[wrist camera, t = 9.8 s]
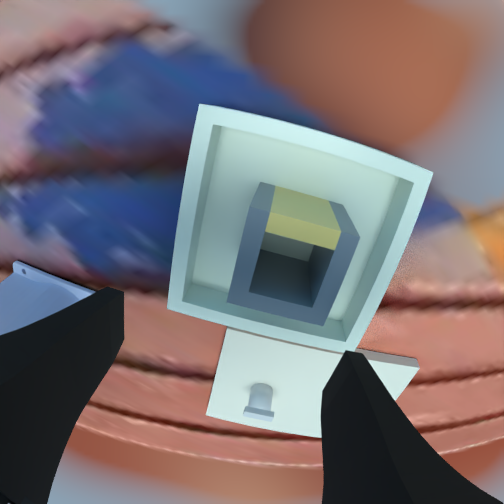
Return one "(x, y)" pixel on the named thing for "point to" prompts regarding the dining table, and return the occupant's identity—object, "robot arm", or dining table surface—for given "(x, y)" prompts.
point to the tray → (232, 225)
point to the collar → (287, 268)
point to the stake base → (286, 381)
